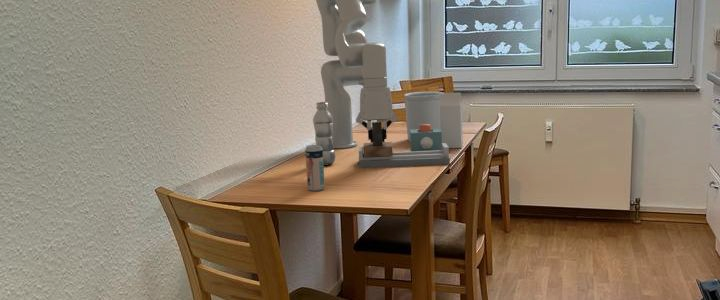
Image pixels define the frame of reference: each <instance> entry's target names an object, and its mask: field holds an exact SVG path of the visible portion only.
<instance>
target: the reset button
mask: <svg viewBox="0 0 720 300" xmlns="http://www.w3.org/2000/svg"><path fill="white" fill-rule="evenodd" d="M419 132H431V124H420V125H419Z"/></svg>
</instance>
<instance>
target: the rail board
mask: <svg viewBox="0 0 720 300" xmlns="http://www.w3.org/2000/svg"><path fill="white" fill-rule="evenodd" d="M449 149H450V148H449V147H448V145H447V144H446V143H442V150H436V151H413V152H411V151H395V152H393V156H379V157H364V152H363V146H359V147H358V168H359V169H367V168H368V169H371V168H389V167H395V168H396V167H415V166H417V167H418V166H435V165H436V166H437V165H438V166H439V165H443V166H444V165H450V164H451V158H450V153H449V152H450V150H449Z"/></svg>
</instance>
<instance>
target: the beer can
mask: <svg viewBox="0 0 720 300" xmlns="http://www.w3.org/2000/svg"><path fill="white" fill-rule="evenodd" d="M304 151H305V162H306V182H307V190H309V191H311V192H321V191H323V190H325V188H326V185H325V183H326V182H325V168H324V166H325V165H323V149H322V147H321V145H316V144H311V145H306V148H305V149H304Z"/></svg>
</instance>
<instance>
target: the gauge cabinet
mask: <svg viewBox="0 0 720 300" xmlns="http://www.w3.org/2000/svg"><path fill="white" fill-rule="evenodd" d="M409 142H410V148H409V149H410V152H413V151H436V150H442V132H441V130H440V129H439V128H437V129H431V132H419V129H415V130H410V141H409Z"/></svg>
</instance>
